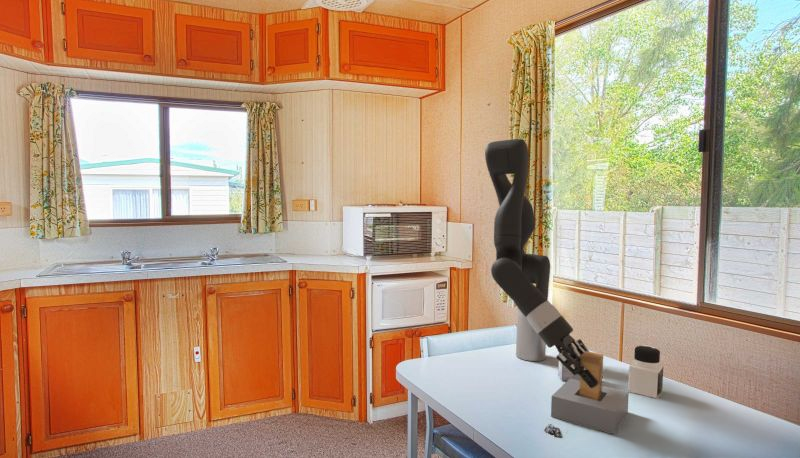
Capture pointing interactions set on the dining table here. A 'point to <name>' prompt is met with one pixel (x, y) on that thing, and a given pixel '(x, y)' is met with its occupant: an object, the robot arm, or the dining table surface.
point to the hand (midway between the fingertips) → (597, 382)
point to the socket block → (590, 407)
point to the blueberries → (553, 431)
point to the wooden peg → (596, 369)
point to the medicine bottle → (646, 372)
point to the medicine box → (566, 373)
